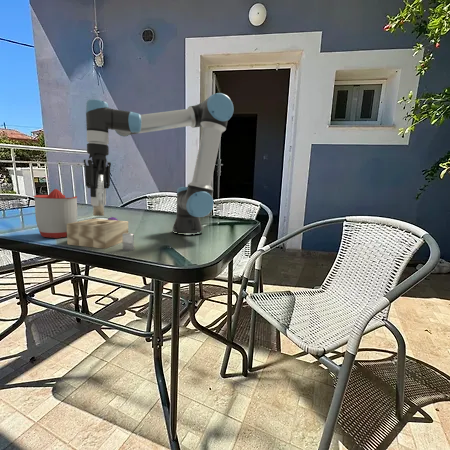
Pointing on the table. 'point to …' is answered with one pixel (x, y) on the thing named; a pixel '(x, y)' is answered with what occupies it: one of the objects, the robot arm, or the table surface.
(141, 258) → the table surface
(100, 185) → the long pin
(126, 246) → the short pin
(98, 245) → the hole block
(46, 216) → the citrus juicer
